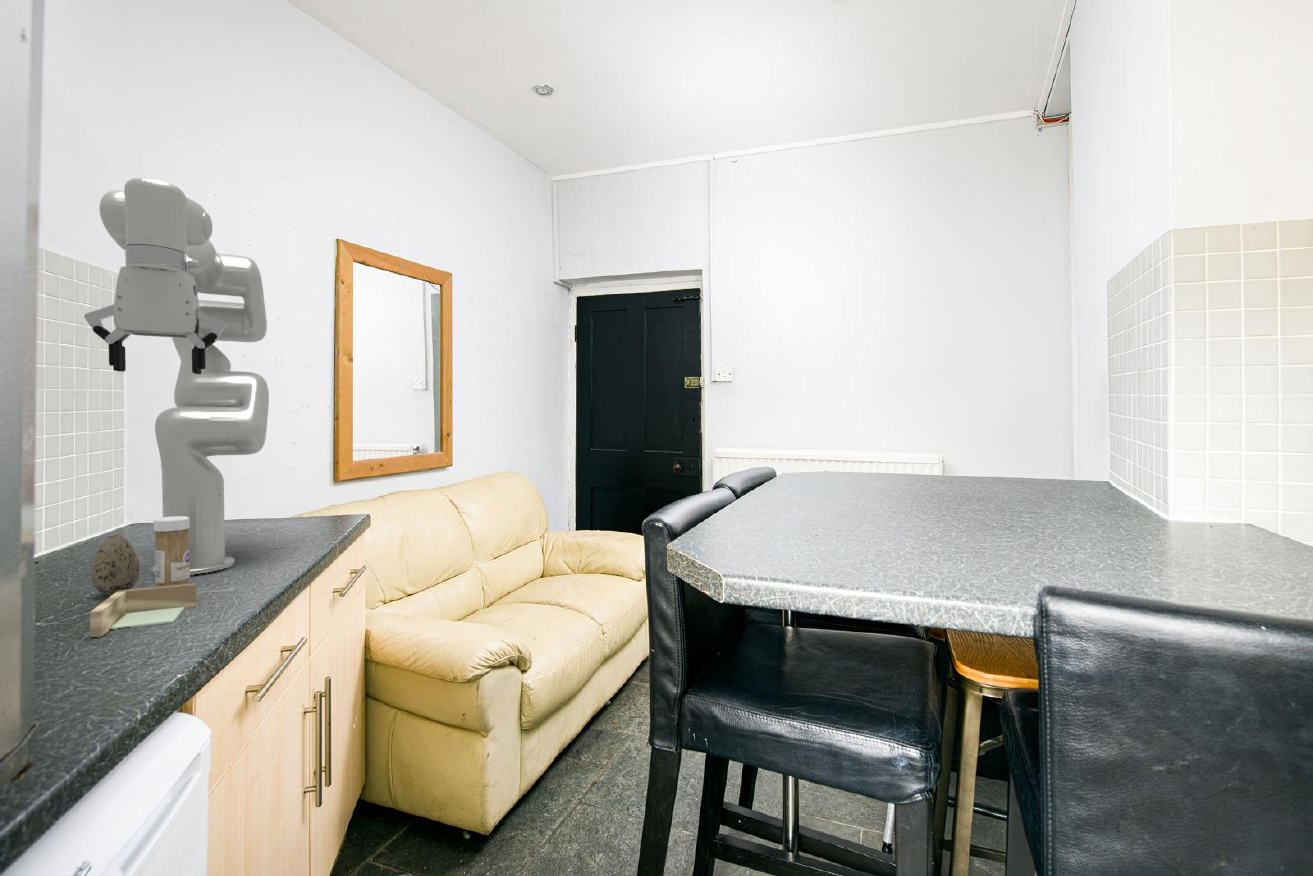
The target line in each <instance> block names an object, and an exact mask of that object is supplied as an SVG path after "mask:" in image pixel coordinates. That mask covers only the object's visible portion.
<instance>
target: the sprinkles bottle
mask: <svg viewBox="0 0 1313 876" xmlns="http://www.w3.org/2000/svg"><path fill="white" fill-rule="evenodd" d="M152 525H153V532H154V541H155V543H154V544H155V545H154V546H155V548H154V558H155V559H154V567H155V574H154V578H155V579H154V580H155V581H154V582H155V585H156V586H155V587H159V586H170V585H181V584H190V577H191V576H190V569H189V544H188V531H189V530H188V528H189V527H190V521H189V517H186V516H172V517H163V516H162V517H158V518H155V519H154V520H153V524H152Z"/></svg>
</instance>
